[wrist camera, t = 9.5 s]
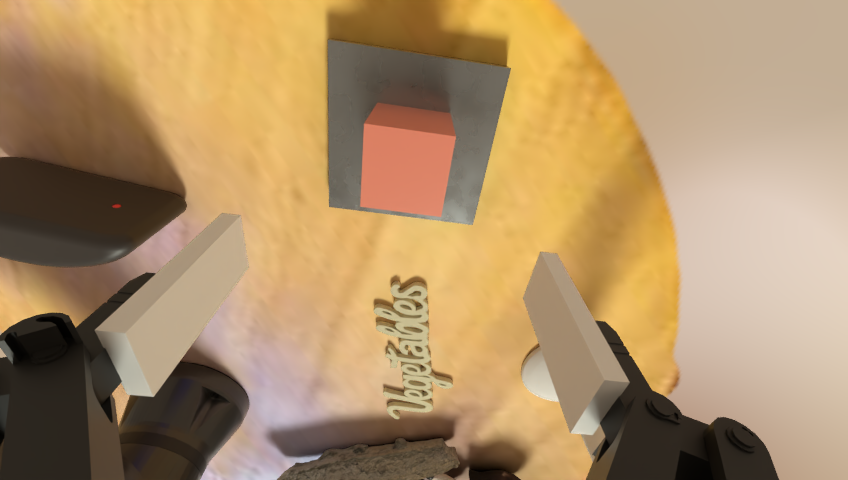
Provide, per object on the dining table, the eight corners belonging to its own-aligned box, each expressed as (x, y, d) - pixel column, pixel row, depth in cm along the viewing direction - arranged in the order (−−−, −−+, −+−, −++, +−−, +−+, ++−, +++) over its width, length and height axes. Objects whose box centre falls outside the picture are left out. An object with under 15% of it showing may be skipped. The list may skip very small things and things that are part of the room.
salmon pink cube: (373, 172, 31) (360, 206, 25) (377, 102, 28) (363, 123, 22) (438, 180, 32) (441, 216, 26) (450, 113, 29) (456, 136, 23)
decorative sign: (453, 418, 53) (387, 419, 53) (452, 412, 54) (388, 413, 54) (452, 283, 39) (364, 285, 39) (452, 277, 40) (366, 280, 40)
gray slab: (332, 199, 35) (314, 233, 29) (332, 38, 27) (308, 42, 22) (471, 217, 35) (478, 253, 30) (507, 66, 28) (526, 76, 23)
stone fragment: (451, 446, 50) (458, 483, 49) (457, 422, 59) (463, 453, 58) (257, 472, 55) (261, 506, 54) (289, 446, 64) (293, 475, 63)
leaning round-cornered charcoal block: (24, 193, 35) (-97, 244, 27) (9, 149, 32) (-130, 190, 24) (196, 231, 37) (131, 289, 29) (192, 193, 34) (121, 244, 26)
